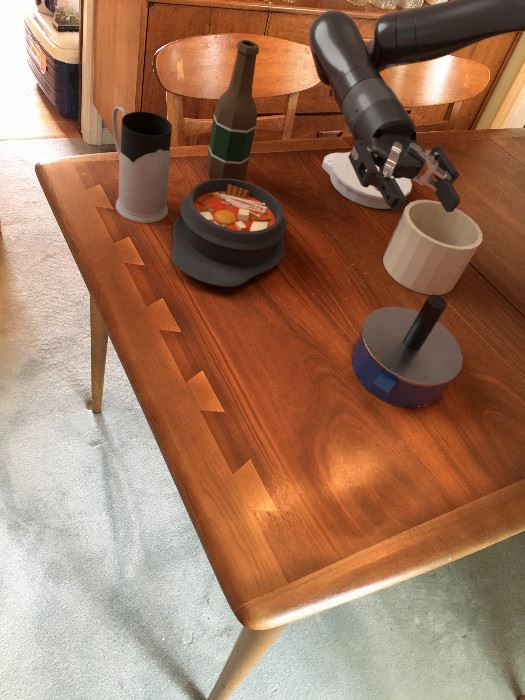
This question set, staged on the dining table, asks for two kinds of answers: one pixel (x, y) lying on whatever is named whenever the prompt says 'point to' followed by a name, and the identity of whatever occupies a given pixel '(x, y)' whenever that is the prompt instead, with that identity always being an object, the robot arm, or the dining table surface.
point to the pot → (431, 247)
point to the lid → (357, 182)
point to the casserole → (228, 232)
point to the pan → (389, 382)
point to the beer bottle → (234, 119)
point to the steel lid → (413, 343)
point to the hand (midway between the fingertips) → (428, 206)
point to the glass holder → (143, 165)
